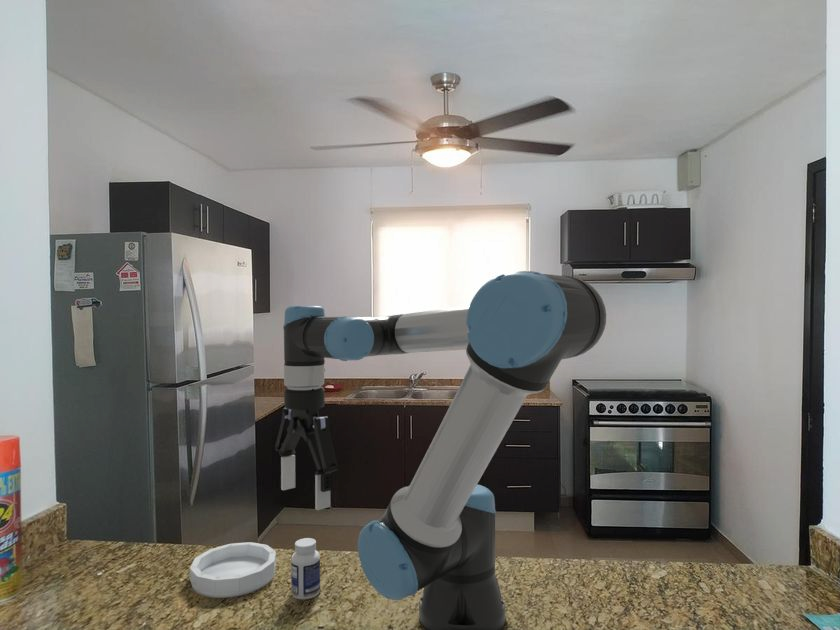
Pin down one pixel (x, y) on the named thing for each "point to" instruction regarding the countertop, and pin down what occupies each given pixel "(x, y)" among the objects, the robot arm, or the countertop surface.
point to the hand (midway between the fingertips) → (304, 498)
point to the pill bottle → (305, 569)
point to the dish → (233, 570)
